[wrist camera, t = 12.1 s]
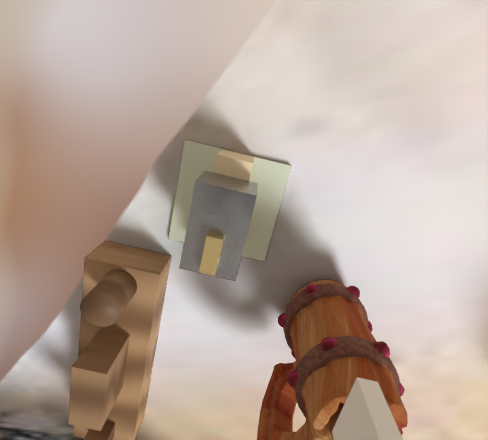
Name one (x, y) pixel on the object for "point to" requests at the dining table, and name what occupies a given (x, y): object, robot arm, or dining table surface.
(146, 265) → the wooden peg board
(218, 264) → the lever cap
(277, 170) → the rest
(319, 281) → the mug
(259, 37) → the dining table surface
